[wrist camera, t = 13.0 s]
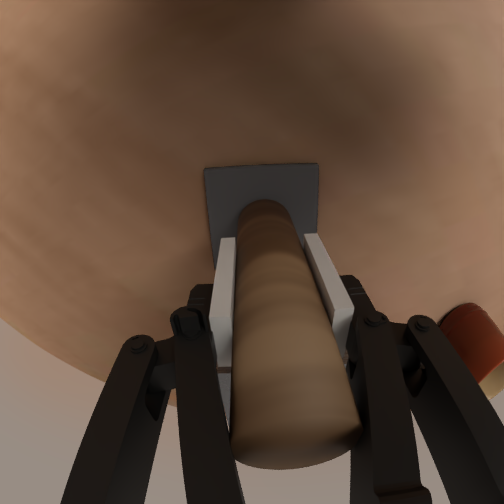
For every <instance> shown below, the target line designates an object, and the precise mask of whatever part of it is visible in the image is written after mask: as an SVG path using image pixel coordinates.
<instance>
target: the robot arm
mask: <svg viewBox="0 0 504 504" xmlns="http://www.w3.org/2000/svg"><path fill="white" fill-rule="evenodd" d="M303 250H304V253H305V255H306V258H307V261H308V263H309V266H310V269H311V271H312V274H313V277H314V279H315V282H316V285H317V288H318V290H319V293H320V296H321V299H322V302H323V304H324V307H325V310H326V313H327V316H328V319H329V322H330V324H331V327H332V330H333V333H334V336H335V339H336V342H337V345H338V348H339V351H340V354H341V357H342V358H343V357H344V354H345V350H347V353H348V356H349V357H348V361H347V364H346V368H345V369H346V373H347V375H348V379H349V382H350V385H351V389H352V392H353V395H354V398H355V402H356V405H357V408H358V412H359V415H360V418H361V422H362V425H363V429H364V430H363V432H362V434H361V436H360V438H359V440H358V441H357V443H356V445H355V446H354V447H353V448H352V449H351V476H350V477H351V478H350V482H351V483H350V504H432V498H431V493H430V491H429V490H428V489H427V488H426V487H424V486H422V484H421V480H420V470H419V462H418V454H417V446H416V440H415V433H414V427H413V421H412V416H411V411H412V413H413V415H414V417H415V419H416V421H417V424H418V426H419V428H420V430H421V432H422V435H423V437H424V439H425V442H426V444H427V446H428V448H429V451H430V453H431V455H432V458H433V460H434V463H435V465H436V467H437V470H438V472H439V475H440V477H441V480H442V482H443V485H444V487H445V490H446V493H447V495H448V498H449V500H450V503H451V504H504V426H503V424H502V422H501V420H500V419H499V417H498V415H497V413H496V412H495V410H494V408H493V407H492V405H491V403H490V402H489V400H488V398H487V397H486V395H485V394H484V392H483V390H482V389H481V387H480V386H479V384H478V383H477V381H476V379H475V378H474V376H473V375H472V373H471V372H470V370H469V369H468V367H467V366H466V364H465V363H464V362H463V360H462V359H461V357H460V356H459V354H458V353H457V352H456V350H455V349H454V347H453V346H452V345H451V343H450V342H449V340H448V339H447V338H446V336H445V335H444V334H443V332H442V331H441V330H440V328H439V327H438V326H437V324H436V323H435V322H434V321H433V320H432V319H431V318H429V317H427V316H424V315H414V316H412V317H411V318H410V319H409V320H408V323H407V324H402V323H393V322H389V320H388V318H387V316H385V315H384V314H383V313H381V312H378V311H376V310H375V308H374V306H373V305H372V303H371V301H370V299H369V297H368V296H367V294H366V292H365V290H364V288H363V287H362V285H361V283H360V281H359V280H358V279H356V278H355V277H354V276H352V275H343V276H339V275H338V273H337V271H336V269H335V267H334V265H333V263H332V261H331V259H330V257H329V255H328V253H327V251H326V249H325V247H324V245H323V243H322V241H321V239H320V238H319V236H318V234H317V233H312V234H304V244H303ZM235 274H236V242H235V237H232V238H221V242H220V248H219V255H218V261H217V267H216V273H215V280H214V284H197V285H196V286H195V287H194V288H193V289H192V290H191V292H190V296H189V300H188V304H187V306H185V307H181V308H179V309H177V310H175V311H174V312H173V313H172V314H171V317H170V322H171V326H172V330H173V333H174V336H173V337H171V338H169V339H166V340H161V341H157V342H154V340H153V338H151V337H150V336H147V335H136V336H133V337H131V338H129V339H128V340H127V341H126V342H125V343H124V344H123V346H122V348H121V350H120V352H119V355H118V357H117V359H116V361H115V363H114V365H113V368H112V370H111V372H110V374H109V376H108V379H107V381H106V383H105V386H104V388H103V390H102V392H101V395H100V397H99V400H98V402H97V404H96V407H95V409H94V411H93V414H92V416H91V419H90V421H89V424H88V426H87V429H86V432H85V434H84V437H83V439H82V442H81V445H80V447H79V450H78V453H77V455H76V459H75V461H74V464H73V467H72V470H71V473H70V476H69V479H68V482H67V485H66V488H65V491H64V494H63V497H62V500H61V504H144V502H145V497H146V492H147V488H148V483H149V479H150V474H151V470H152V465H153V461H154V456H155V452H156V448H157V444H158V440H159V435H160V431H161V427H162V423H163V419H164V415H165V411H166V407H167V403H168V399H169V396H170V392H171V389H174V388H176V397H177V412H178V426H179V438H180V449H181V457H182V467H183V475H184V484H185V491H186V498H187V504H245V500H244V496H243V492H242V488H241V484H240V480H239V476H238V471H237V467H236V463H235V459H234V456H233V453H232V449H231V446H230V441H229V430H228V426H227V421H226V416H225V411H224V406H223V400H222V395H221V390H220V384H219V379H218V374H217V369H216V367H217V363H218V367H229V366H231V359H232V338H233V319H234V295H235ZM410 409H411V410H410Z"/></svg>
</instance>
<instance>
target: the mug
mask: <svg viewBox="0 0 504 504" xmlns="http://www.w3.org/2000/svg"><path fill="white" fill-rule="evenodd" d="M439 328H440V330H441V331H442V332H443V334H444V335H445V336H446V338H447V339H448V340H449V342H450V343H451V345H452V346H453V347H454V349H455V350H456V352H457V353H458V354H459V356H460V357H461V359H462V360H463V362H464V363H465V364H466V366H467V367H468V369H469V370H470V372H471V373H472V375H473V376H474V378H475V379H476V381H477V383H478V384H479V386H480V387H481V389H482V390H483V392H484V394H485V395H486V397H487V398H488V400H490V399H492V398H493V397H494V396H496V395H497V394H498V393H499V392H501V391H502V390H503V389H504V335H503V334H502V333H501V331H500V330H499V328H498V327H497V325H496V324H495V323H494V322H493V320H492V319H491V318H490V317H489V315H488V314H487V312H486V311H484V310H483V309H482V308H481V307H480V306H478V305H476V304H474V303H467V304H463V305H461V306H459V307H457V308H455V309H454V310H453V311H451V312H450V313H449V314H448V315H447V316H446V317H445V319H444V320H443V321H442V323H441V325H440V327H439Z"/></svg>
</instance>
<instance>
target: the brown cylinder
mask: <svg viewBox="0 0 504 504" xmlns="http://www.w3.org/2000/svg"><path fill="white" fill-rule="evenodd" d="M363 430H364V429H363V425H362V422H361V418H360V415H359V412H358V408H357V405H356V402H355V398H354V395H353V392H352V389H351V385H350V382H349V379H348V376H347V373H346V369H345V366H344V363H343V360H342V357H341V354H340V351H339V348H338V345H337V342H336V339H335V336H334V333H333V330H332V327H331V324H330V322H329V319H328V316H327V313H326V310H325V307H324V304H323V302H322V299H321V296H320V293H319V290H318V288H317V285H316V282H315V279H314V277H313V274H312V271H311V269H310V266H309V263H308V261H307V258H306V255H305V253H304V250H303V247H302V245H301V242H300V240H299V237H298V235H297V232H296V229H295V227H294V224H293V222H292V219H291V217H290V214H289V212H288V211H287V209H286V208H285V207H284V206H283V205H282V204H280V203H279V202H277V201H274V200H270V199H260V200H256V201H254V202H252V203H250V204H248V205H247V206H246V207H245V208H244V209H243V210H242V212H241V214H240V216H239V219H238V229H237V248H236V274H235V295H234V319H233V338H232V359H231V387H230V420H229V441H230V446H231V449H232V453H233V456H234V459H235V460H237V461H239V462H240V463H243V464H245V465H248V466H252V467H256V468H263V469H274V470H284V469H296V468H303V467H309V466H313V465H317V464H320V463H323V462H326V461H329V460H332V459H334V458H336V457H339V456H341V455H342V454H344V453H346V452H347V451H349V450H351V449H352V448H353V447H354V446H355V445H356V443H357V441H358V440H359V438H360V436H361V434H362V432H363Z"/></svg>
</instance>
